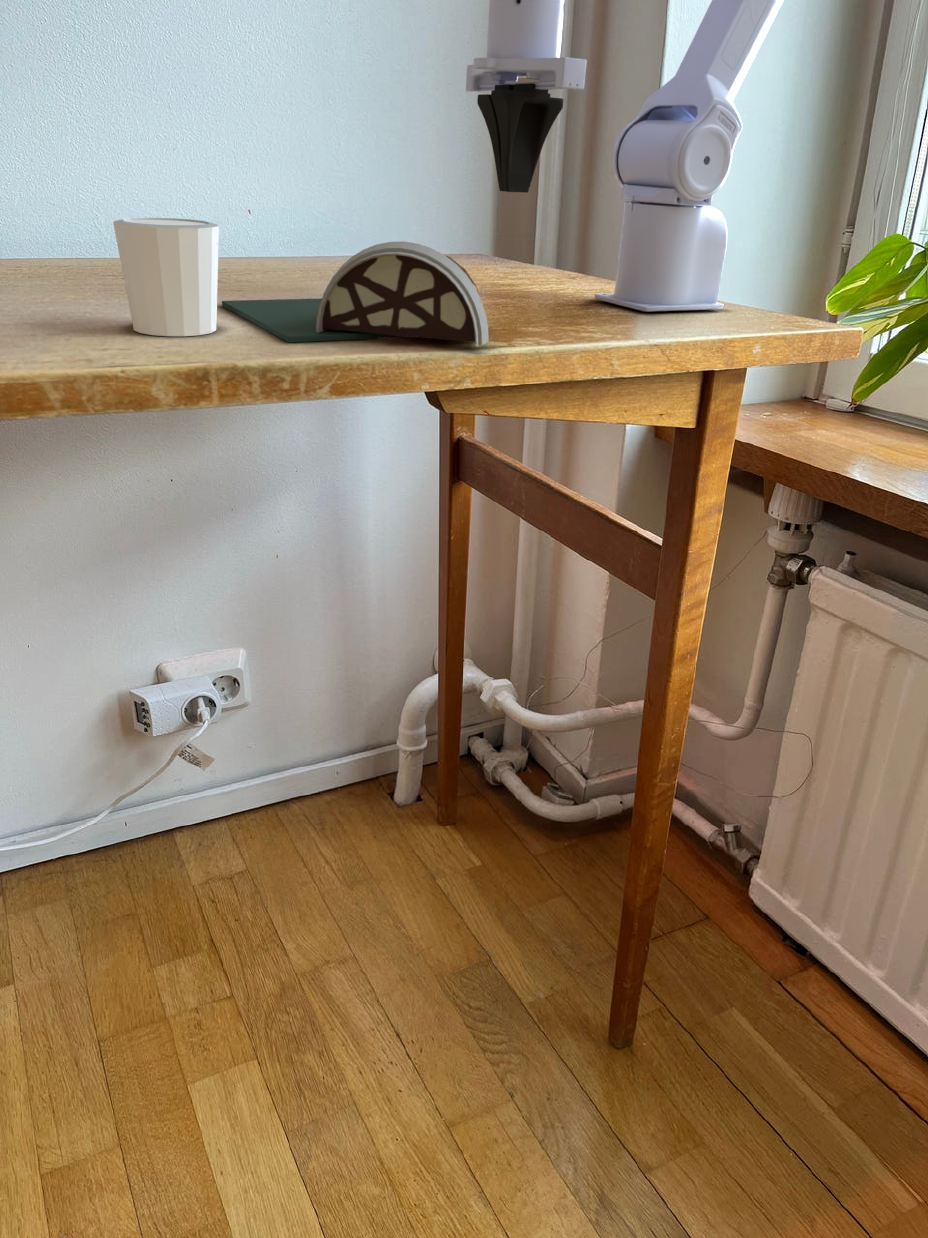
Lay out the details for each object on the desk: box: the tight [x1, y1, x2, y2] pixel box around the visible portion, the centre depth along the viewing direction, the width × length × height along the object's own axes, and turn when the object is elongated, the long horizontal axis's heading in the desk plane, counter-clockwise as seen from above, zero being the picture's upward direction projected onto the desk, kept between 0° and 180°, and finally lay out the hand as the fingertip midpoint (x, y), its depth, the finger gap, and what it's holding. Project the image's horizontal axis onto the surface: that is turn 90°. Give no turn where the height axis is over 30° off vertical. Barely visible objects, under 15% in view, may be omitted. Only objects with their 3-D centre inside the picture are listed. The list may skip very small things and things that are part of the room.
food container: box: [316, 241, 490, 347], centre depth 68 cm, size 12×6×10 cm
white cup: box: [112, 217, 220, 337], centre depth 65 cm, size 7×7×7 cm
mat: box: [221, 297, 405, 343], centre depth 73 cm, size 12×16×1 cm
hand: (514, 191), depth 78 cm, fingers closed
